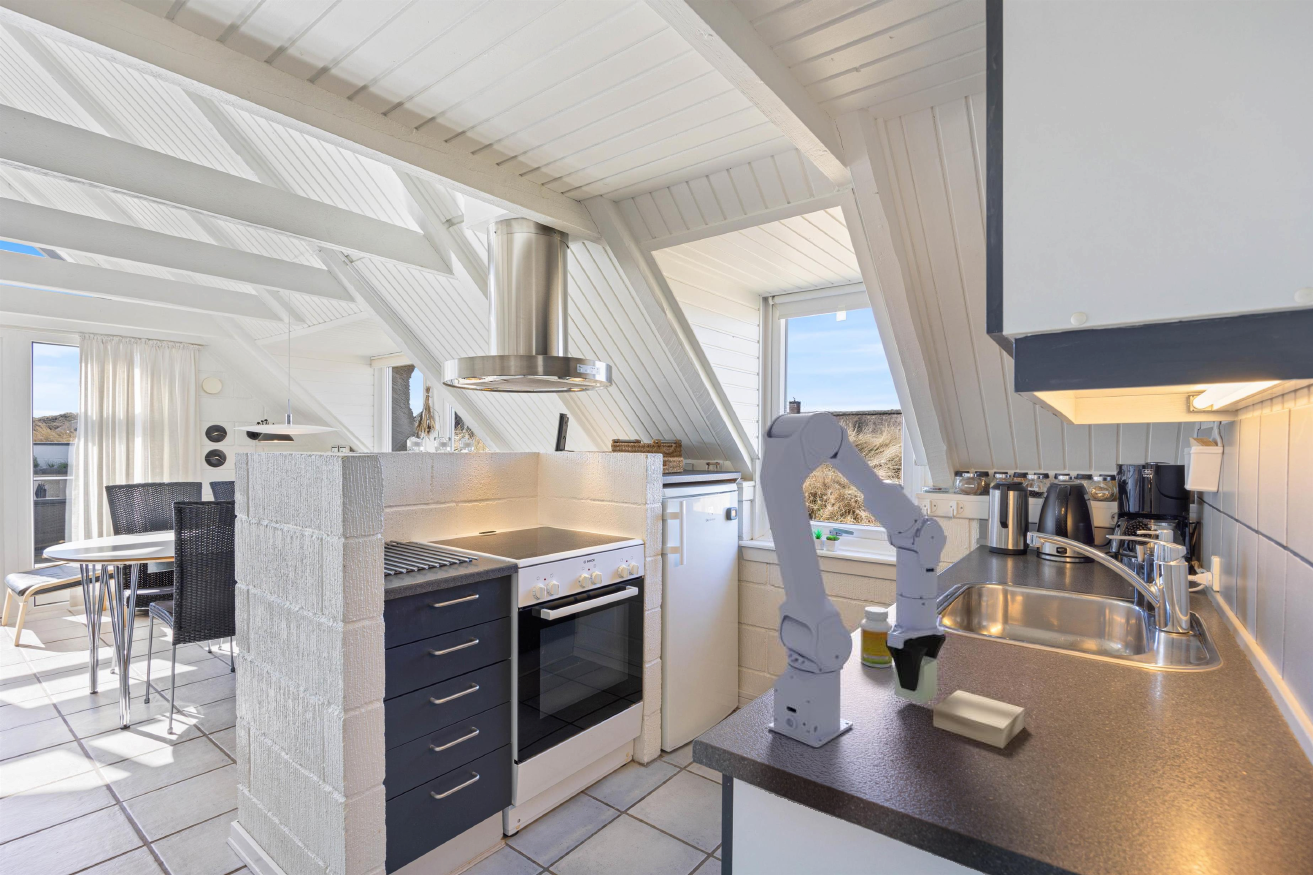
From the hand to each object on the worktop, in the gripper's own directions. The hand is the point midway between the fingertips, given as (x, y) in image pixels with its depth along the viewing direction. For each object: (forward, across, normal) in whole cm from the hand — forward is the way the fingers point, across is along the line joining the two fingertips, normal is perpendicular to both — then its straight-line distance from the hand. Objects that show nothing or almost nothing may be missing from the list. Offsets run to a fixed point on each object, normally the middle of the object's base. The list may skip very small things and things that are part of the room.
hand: (915, 684), depth 96 cm
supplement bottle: (+3, +13, +13) cm, 19 cm away
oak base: (+4, 0, -9) cm, 10 cm away
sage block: (+2, 0, 0) cm, 2 cm away
